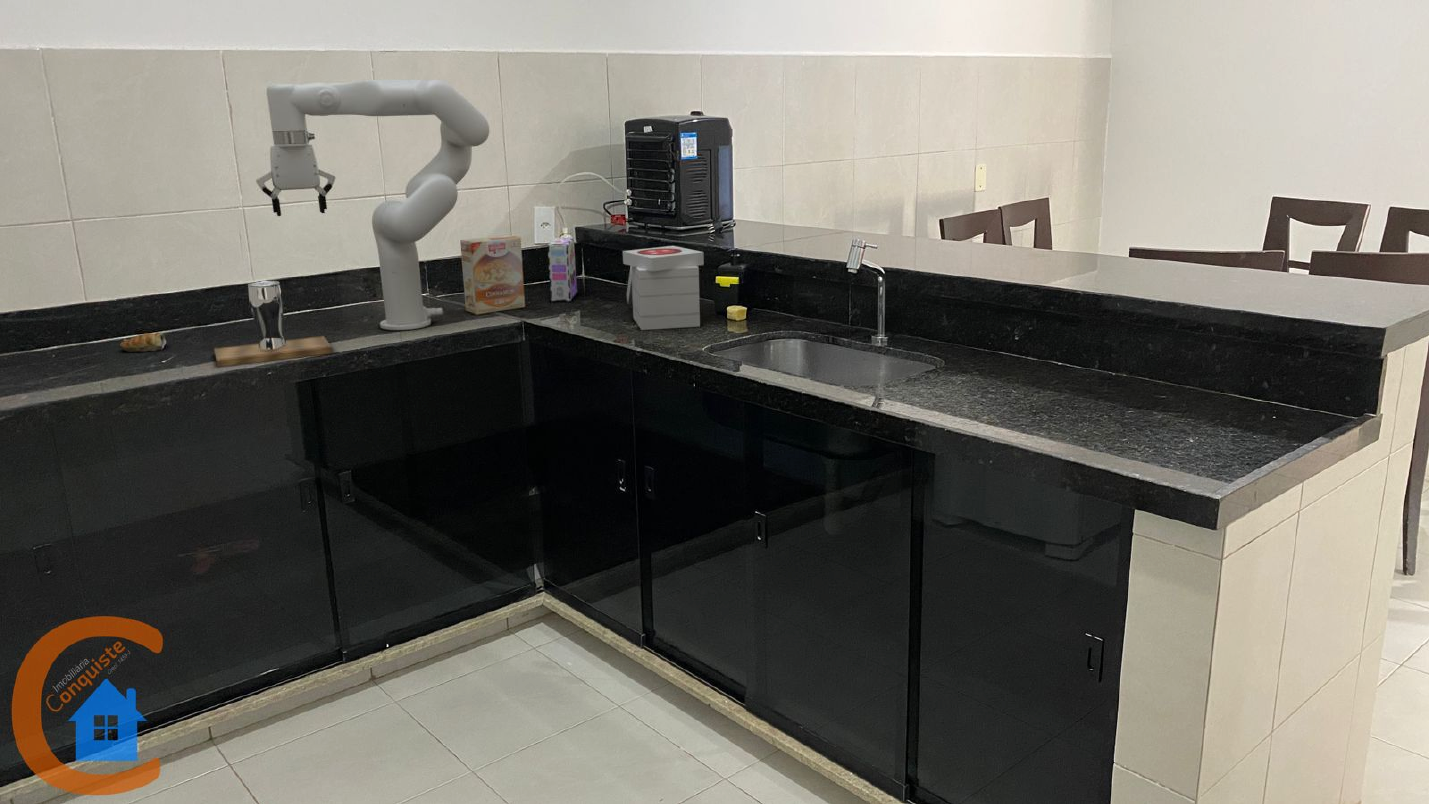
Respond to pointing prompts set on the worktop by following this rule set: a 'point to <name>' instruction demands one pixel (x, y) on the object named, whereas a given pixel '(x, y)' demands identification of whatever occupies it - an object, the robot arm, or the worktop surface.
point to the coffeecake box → (492, 274)
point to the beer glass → (268, 314)
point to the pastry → (144, 342)
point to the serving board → (253, 354)
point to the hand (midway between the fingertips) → (301, 214)
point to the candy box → (562, 269)
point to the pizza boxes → (664, 286)
